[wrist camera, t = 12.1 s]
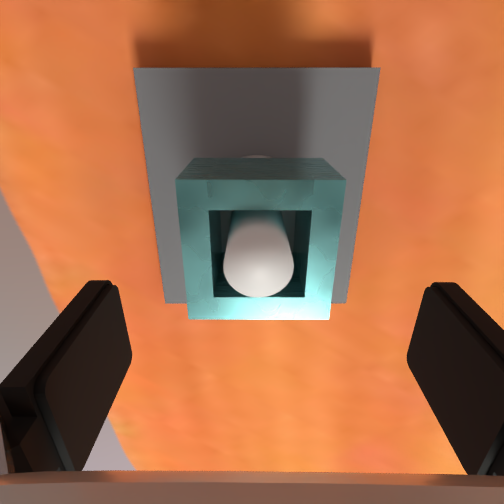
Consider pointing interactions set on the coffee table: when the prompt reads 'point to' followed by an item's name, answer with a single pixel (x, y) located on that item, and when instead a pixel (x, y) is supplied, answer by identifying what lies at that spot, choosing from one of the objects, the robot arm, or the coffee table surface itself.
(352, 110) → the post plate
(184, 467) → the coffee table surface
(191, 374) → the coffee table surface
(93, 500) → the robot arm
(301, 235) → the collar
